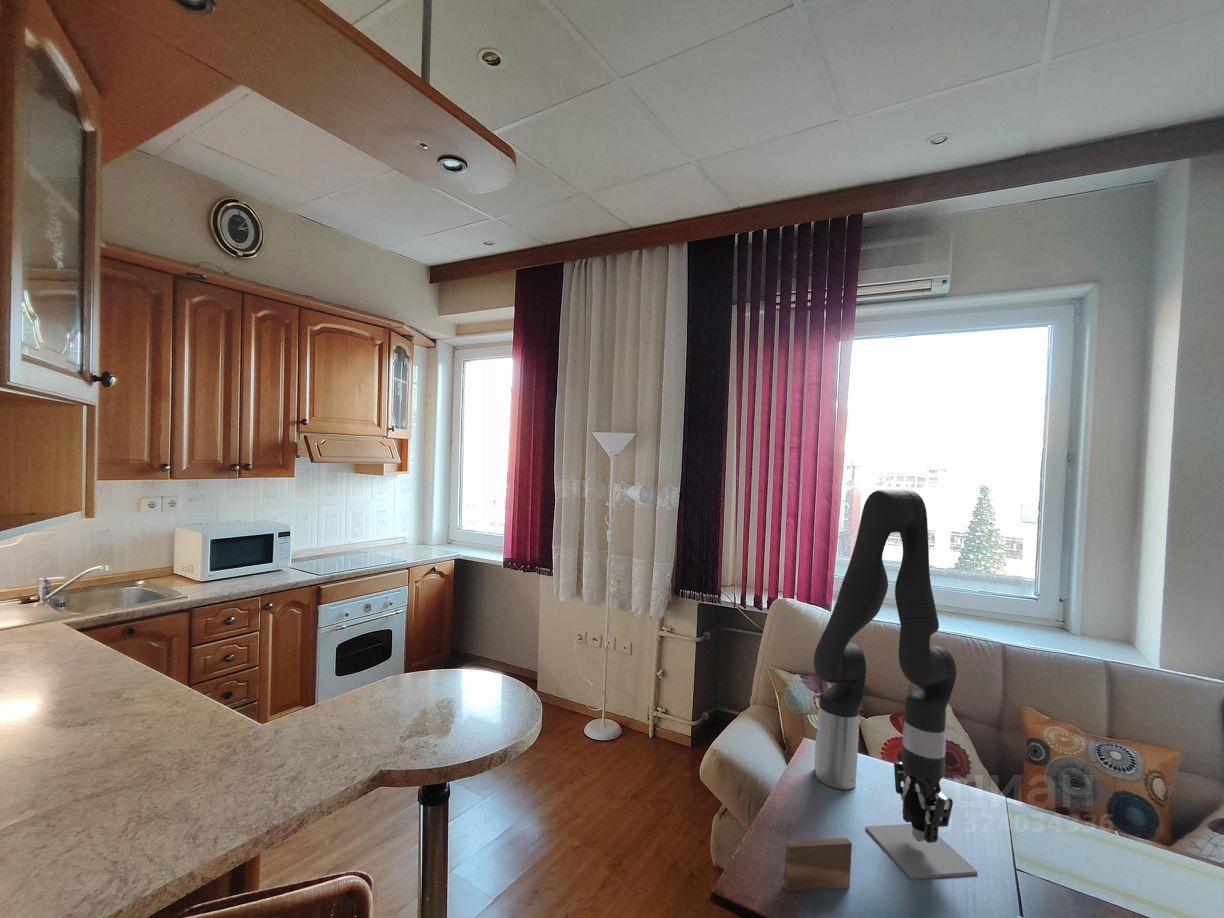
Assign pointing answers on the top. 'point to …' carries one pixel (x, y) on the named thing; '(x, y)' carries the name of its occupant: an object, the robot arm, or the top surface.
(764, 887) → the top surface
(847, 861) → the wooden toy block
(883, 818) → the top surface
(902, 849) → the rubber mat
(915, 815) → the light bulb
